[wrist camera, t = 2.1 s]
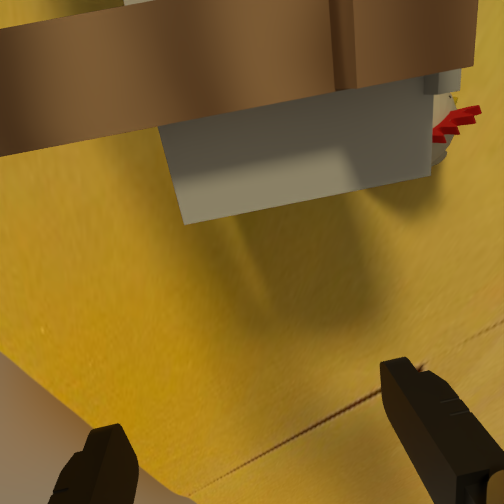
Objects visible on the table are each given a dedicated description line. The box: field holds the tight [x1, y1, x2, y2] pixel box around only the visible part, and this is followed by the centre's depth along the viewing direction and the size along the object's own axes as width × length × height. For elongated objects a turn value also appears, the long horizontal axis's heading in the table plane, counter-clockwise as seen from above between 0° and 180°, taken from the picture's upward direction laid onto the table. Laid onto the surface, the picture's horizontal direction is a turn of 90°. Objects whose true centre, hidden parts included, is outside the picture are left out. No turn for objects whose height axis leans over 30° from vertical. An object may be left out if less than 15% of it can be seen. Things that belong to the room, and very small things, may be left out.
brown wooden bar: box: [0, 0, 478, 157], centre depth 13 cm, size 21×4×5 cm, turn 100°
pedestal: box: [124, 0, 461, 225], centre depth 30 cm, size 14×15×34 cm
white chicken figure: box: [431, 93, 482, 166], centre depth 43 cm, size 14×14×15 cm
